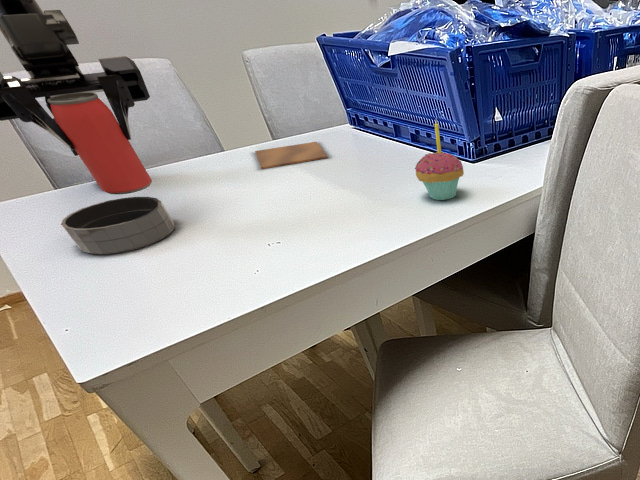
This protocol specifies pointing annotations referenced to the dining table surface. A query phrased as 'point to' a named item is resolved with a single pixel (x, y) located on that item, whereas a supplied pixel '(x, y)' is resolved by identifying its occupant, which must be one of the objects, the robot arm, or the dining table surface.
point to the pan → (119, 225)
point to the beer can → (100, 142)
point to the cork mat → (290, 155)
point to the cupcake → (439, 172)
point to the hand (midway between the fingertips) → (101, 142)
